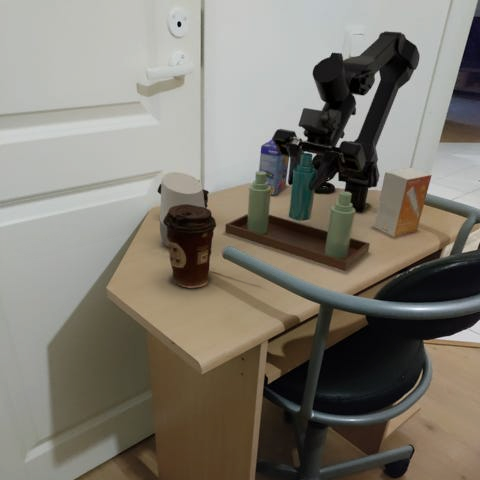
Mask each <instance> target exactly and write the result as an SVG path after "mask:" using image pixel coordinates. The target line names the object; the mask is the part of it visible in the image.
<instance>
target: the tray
mask: <svg viewBox="0 0 480 480" xmlns="http://www.w3.org/2000/svg"><path fill="white" fill-rule="evenodd" d="M247 219H248V213H246V214H244V215H242V216H240V217H237V218H236V219H234V220H232V221H230V222H228V223H225V233H226V234H228V235H233V236H234V237H235V236H236V237H239V238H241V239H245V240H247V241H251V242H254V243H257V244H261V245H264V246H267V247H269V248H272V249H274V250H275V249H276V250H279V251H282V252H285V253H288V254H291V255H294V256H297V257H300V258H304V259H306V260H309V261H312V262H315V263H318V264H322V265H325V266H327V267H331V268H334V269H337V270H340V271H343V272H345V271H347V270H348V269H349V268H351V267H352V266H353V265H354V264H355V263H356V262H357V261H359V260H360V259H361V258H363V257H364V256H365V255H366V254H368V253H369V250H370V246H371V243H369V242H366V241H363V240H359V239H355V238H352V237H351V239H350V244H349V250H348V255H347V257H346V258H344V259H339V258H336V257H332V256H329V255H326V254H325V253H324V252H325V245H326V239H327V232H328V230H324V229H322V228H318V227H314V226H311V225H308V224H304V223H299V222H297V221H294V220H290V219H287V218H282V217H279V216H276V215H273V214H269V223H268V231H267V232H266V233H263V234H259V233H256V232H253V231H249V230H247Z"/></svg>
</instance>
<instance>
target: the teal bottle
mask: <svg viewBox="0 0 480 480" xmlns="http://www.w3.org/2000/svg"><path fill="white" fill-rule="evenodd" d="M313 157H314V156H313V153H309V152H304V153H302V154H301V160H300V163H299V164H297V168H294V169H293V177H292V185H291V189H290V200H289V209H288V217H289V218H290V219H291V220H293V221H294V220H295V221H300V222H301V221H302V222H303V221H309V220H311V219H312V215H313V214H312V213H313V206H314V199H315V198H314V197H315V192H314V190H315V189H314V190H313V191H311V190H310V185H311V183H312V180H313V179H314V177H315V175H316V173H317V170H315V169H314V165H313V164H312V159H313Z"/></svg>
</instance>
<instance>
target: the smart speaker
mask: <svg viewBox="0 0 480 480" xmlns="http://www.w3.org/2000/svg"><path fill="white" fill-rule="evenodd" d="M199 180H200V179H198V178H196V177H194V176H193V175H190V174H187V173H183V172H177V171H175V172H174V171H173V172H167V173H166V174H164V175H163V176H162V177H161V183H160V184H161V194H160V208H159V209H160V210H159V232H160V233H159V234H160V238H161V241H162V243H163V245H164V246H165V247H167V248H168V240H167V226H166V225H165V224H164V223H163V220H164V218H165V216H166V215H167V213H168V212H169V211H168V210H169V209H170V208H171V207H173V206H178V205H183V204H187V205H188V204H189V205H194V206H198V207H204V208H205V204H204V195H203V190H204V188H203V184H202V183H201V180H200V181H199Z"/></svg>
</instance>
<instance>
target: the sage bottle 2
mask: <svg viewBox="0 0 480 480" xmlns="http://www.w3.org/2000/svg"><path fill="white" fill-rule="evenodd" d="M351 195H352V194H351V193H350V192H344V191H340V192H339V195H338V201H335V204H334V205H331V207H330V212H329V217H328V219H329V220H328V226H327V231H328V232H327V239H326V245H325V252H324V253H325V254H326V255H329V256H332V257H336V258H339V259H344V258H346V257H347V255H348V250H349V244H350V239H351V238H352V233H353V227H354V220H355V215H356V211H355V209H354V208H353V207H352V206H353V205H352V203H350V201H351Z"/></svg>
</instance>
